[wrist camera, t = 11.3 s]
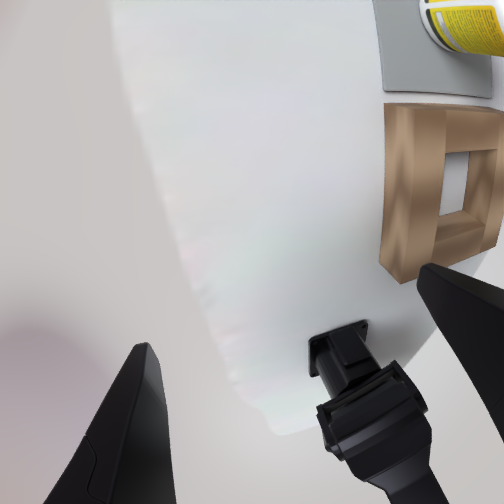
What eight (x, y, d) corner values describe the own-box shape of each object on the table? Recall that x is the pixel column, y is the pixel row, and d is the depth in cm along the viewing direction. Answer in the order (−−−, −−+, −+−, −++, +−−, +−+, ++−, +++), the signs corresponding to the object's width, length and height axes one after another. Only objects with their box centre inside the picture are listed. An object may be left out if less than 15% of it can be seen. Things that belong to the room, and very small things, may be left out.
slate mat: (489, 97, 20) (492, 98, 20) (383, 90, 19) (386, 90, 18) (473, -30, 13) (476, -30, 13) (355, -73, 11) (358, -74, 11)
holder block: (474, 231, 28) (495, 246, 25) (379, 262, 27) (400, 284, 24) (489, 107, 21) (516, 115, 18) (383, 103, 19) (414, 109, 16)
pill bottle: (467, 58, 18) (573, 81, 8) (418, 42, 17) (542, 54, 7) (462, -3, 14) (565, 2, 5) (412, -25, 13) (527, -40, 4)
